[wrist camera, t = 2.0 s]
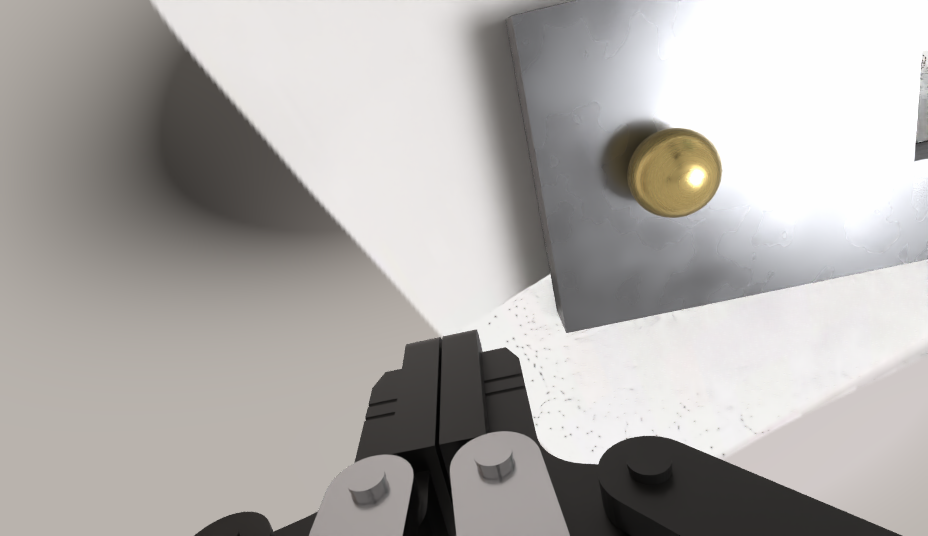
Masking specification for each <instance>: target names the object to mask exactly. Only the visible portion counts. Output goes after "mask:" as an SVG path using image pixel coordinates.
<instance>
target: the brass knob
mask: <svg viewBox="0 0 928 536" xmlns="http://www.w3.org/2000/svg"><path fill="white" fill-rule="evenodd" d="M627 179H628V185H629V188H630V191H631V193H632V195H633V197H634V199H635V200H636V201H637V203H638V204H639V205H640V206H641V207H643V208H644V209H645V210H647V211H648V212H650V213H652V214H654V215H657V216H661V217H667V218H677V217H684V216H687V215H690V214H693V213H695V212H697V211H698V210H700V209H701V208H703V207H704V206H705V205H707V204H708V203H709V202H710V201H711V199H712V198H713V197H714V195H715V194H716V192H717V190H718V188H719V186H720V183H721V179H722V161H721V157H720V155H719V152H718V150H717V149H716V147H715V145H714V144H713V143H712V142H711V141H710V140H709V139H708V138H707V137H706V136H704V135H703V134H701V133H699V132H697V131H694V130H691V129H688V128H668V129H664V130H660V131H658V132H656V133H654V134H652V135H650V136H649V137H647V138H646V139H645V140H644V141H643V142H642V143H641V144H640V145H639V146H638V147H637V148H636V150H635V151H634V153H633V155H632V157H631V159H630V162H629V166H628V172H627Z"/></svg>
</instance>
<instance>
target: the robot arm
mask: <svg viewBox="0 0 928 536" xmlns="http://www.w3.org/2000/svg"><path fill="white" fill-rule="evenodd" d="M195 536H902V535H899V534H897V533H894V532H892V531H890V530H887V529H885V528H883V527H880V526H878V525H875V524H873V523H871V522H868V521H866V520H864V519H861V518H859V517H856V516H854V515H852V514H849V513H847V512H845V511H842V510H840V509H837V508H835V507H833V506H830V505H828V504H825V503H823V502H821V501H818V500H816V499H814V498H811V497H809V496H807V495H804V494H801V493H799V492H797V491H795V490H792V489H790V488H787V487H785V486H783V485H780V484H778V483H776V482H773V481H771V480H768V479H766V478H764V477H761V476H759V475H757V474H754V473H752V472H749V471H747V470H745V469H742V468H740V467H737V466H735V465H733V464H730V463H728V462H725V461H723V460H721V459H718V458H716V457H714V456H711V455H709V454H706V453H704V452H702V451H699V450H697V449H695V448H692V447H690V446H687V445H685V444H683V443H680V442H678V441H675V440H672V439H669V438H664V437H657V436H640V437H634V438H629V439H626V440H623V441H621V442H619V443H617V444H615V445H613V446H612V447H611V448H609V449H608V450H607V451H606V452H605V453H604V454H603V456H602V457H601V459H600V461H599V464H598V465H597V464H581V463H573V462H568V461H564V460H562V459H559V458H557V457H555V456H553V455H551V454H550V453H548V452H547V451H546V450H545V449H544V448H543V447H542V446H541V445H540V443H539V441H538V439H537V436H536V431H535V427H534V423H533V418H532V414H531V409H530V405H529V401H528V396H527V392H526V388H525V383H524V379H523V374H522V370H521V366H520V361H519V358H518V357H517V356H516V355H515V354H513V353H512V352H511V351H510V350H508V349H507V348H506V347H505V348H500V349H495V350H491V351H486V352H482V347H481V343H480V339H479V335H478V332H477V330H472V331H467V332H462V333H458V334H453V335H448V336H443V338H442V339H441V337H439V338H434V339H429V340H425V341H420V342H415V343H410V344H407V345H406V347H405V354H404V360H403V366H402V369H399V370H394V371H390V372H385V374H384V375H383V376H382V377H381V379H380V380H379V381H378V382H377V383H376V385H375V386H374V387H373V388H372V393H371V397H370V401H369V407H368V409H367V413H366V421H365V422H364V426H363V430H362V434H361V438H360V442H359V446H358V451H357V455H356V459H355V463H354V464H352V465H350V466H348V467H347V468H346V469H344V470H343V471H342V472H340V473H339V474H338V475H337V476H336V478H334V479H333V481H332V482H331V483H330V485H329V486H328V488H327V490H326V492H325V495H324V498H323V500H322V503H321V505H320V508H319V510H318V512H316V513H314V514H312V515H310V516H308V517H306V518H304V519H302V520H299V521H297V522H295V523H292V524H290V525H288V526H286V527H283V528H281V529H279V530H277V531H274V532H273V529H272V527H271V525H270V523H269V521H268V519H267V518H266V517H265V516H263V515H262V514H259V513H256V512H241V513H236V514H232V515H229V516H226V517H224V518H222V519H219V520H217V521H216V522H214V523H212V524H210V525H208V526H207V527H205V528H204V529H202V530H201V531H200V532H198V533H197V534H196V535H195Z"/></svg>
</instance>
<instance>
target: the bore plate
mask: <svg viewBox="0 0 928 536" xmlns="http://www.w3.org/2000/svg"><path fill="white" fill-rule="evenodd" d="M506 24H507V30H508V36H509V41H510V47H511V53H512V58H513V64H514V70H515V75H516V81H517V87H518V92H519V98H520V104H521V109H522V115H523V121H524V126H525V132H526V138H527V143H528V149H529V155H530V160H531V166H532V172H533V177H534V183H535V189H536V194H537V200H538V206H539V211H540V217H541V223H542V228H543V234H544V240H545V245H546V251H547V257H548V262H549V268H550V274H551V279H552V285H553V291H554V296H555V302H556V308H557V312H558V314H559V316H560V319H561V321H562V324H563V326H564V328H565V331H566V333H569V332H574V331H579V330H584V329H589V328H594V327H599V326H603V325H608V324H613V323H618V322H623V321H628V320H633V319H638V318H643V317H647V316H652V315H657V314H662V313H667V312H672V311H677V310H682V309H687V308H692V307H696V306H701V305H706V304H711V303H716V302H721V301H726V300H731V299H736V298H740V297H745V296H750V295H755V294H760V293H765V292H770V291H775V290H780V289H784V288H789V287H794V286H799V285H804V284H809V283H814V282H819V281H824V280H828V279H833V278H838V277H843V276H848V275H853V274H858V273H863V272H868V271H873V270H877V269H882V268H887V267H892V266H897V265H902V264H907V263H912V262H917V261H921V260H926V259H928V140H927V141H922V142H917V143H916V129H917V115H918V100H919V86H920V72H921V57H922V51H924V50H928V0H576V1H571V2H567V3H563V4H559V5H555V6H550V7H546V8H542V9H538V10H534V11H529V12H525V13H521V14H517V15H513V16H510V17H509V18H507V19H506ZM668 128H688V129H691V130H694V131H697V132H699V133H701V134H703V135H704V136H706V137H707V138H708V139H709V140H710V141H711V142H712V143H713V144H714V145H715V147H716V149H717V150H718V152H719V155H720V157H721V161H722V179H721V183H720V186H719V188H718V190H717V192H716V194H715V195H714V197H713V198H712V199H711V201H710V202H709V203H708V204H707V205H705V206H704V207H703V208H701V209H700V210H698V211H697V212H695V213H693V214H690V215H687V216H684V217H677V218H667V217H661V216H657V215H654V214H652V213H650V212H648V211H647V210H645V209H644V208H643V207H641V206H640V205H639V204H638V203H637V201H636V200H635V199H634V197H633V195H632V193H631V191H630V188H629V185H628V179H627V172H628V166H629V162H630V159H631V157H632V155H633V153H634V151H635V150H636V148H637V147H638V146H639V145H640V144H641V143H642V142H643V141H644V140H645V139H646V138H647V137H649V136H650V135H652V134H654V133H656V132H658V131H660V130H664V129H668Z"/></svg>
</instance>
